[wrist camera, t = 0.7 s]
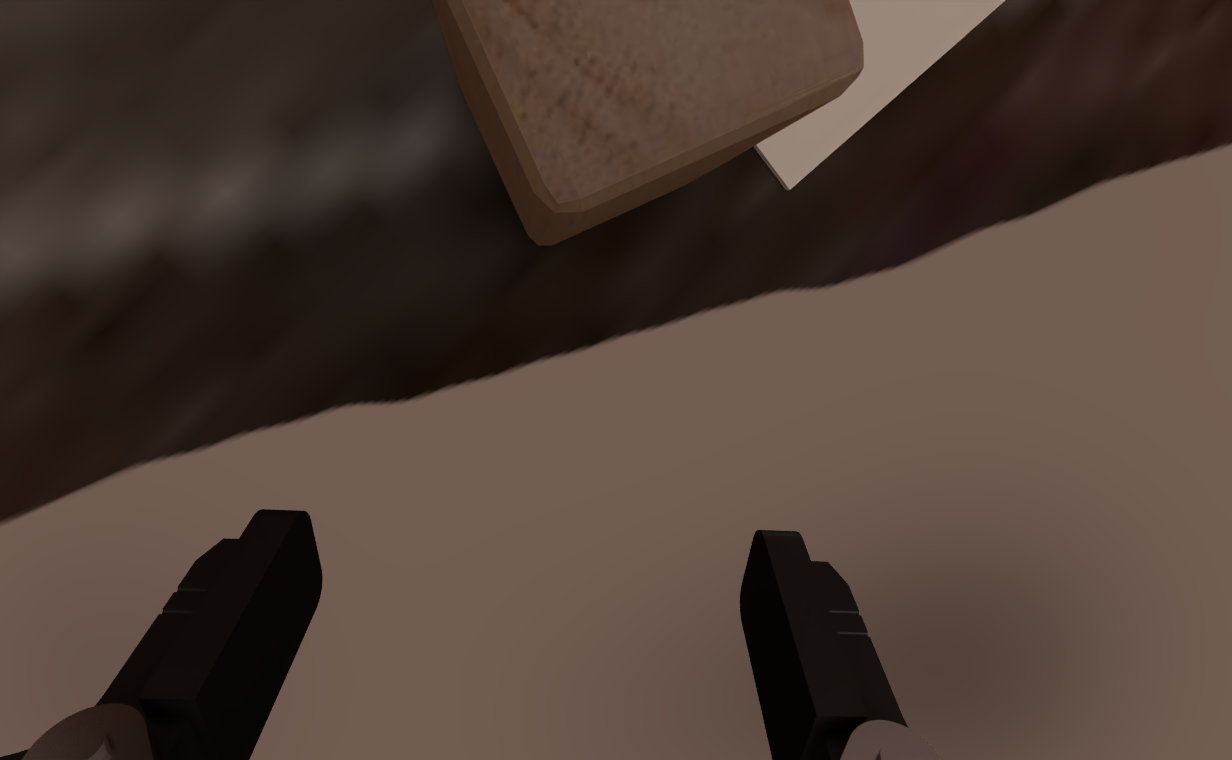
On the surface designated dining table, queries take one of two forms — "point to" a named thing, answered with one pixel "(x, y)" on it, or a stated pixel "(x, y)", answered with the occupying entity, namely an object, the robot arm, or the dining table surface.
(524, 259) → the dining table surface
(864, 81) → the pale grey mat
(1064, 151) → the dining table surface
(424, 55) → the dining table surface
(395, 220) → the dining table surface
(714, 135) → the wooden block
